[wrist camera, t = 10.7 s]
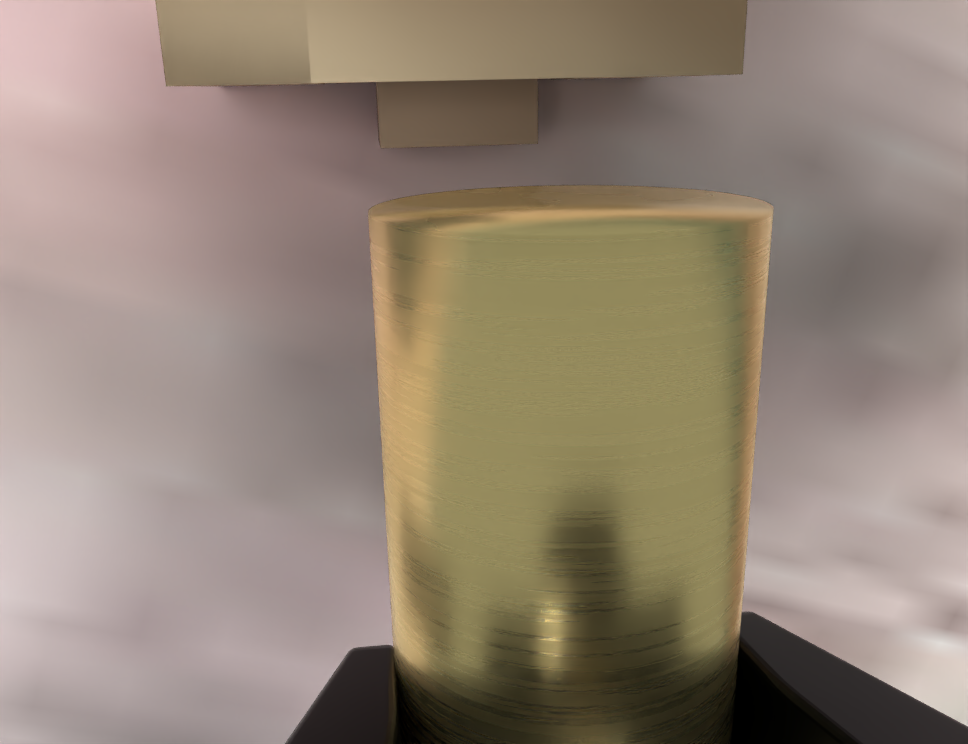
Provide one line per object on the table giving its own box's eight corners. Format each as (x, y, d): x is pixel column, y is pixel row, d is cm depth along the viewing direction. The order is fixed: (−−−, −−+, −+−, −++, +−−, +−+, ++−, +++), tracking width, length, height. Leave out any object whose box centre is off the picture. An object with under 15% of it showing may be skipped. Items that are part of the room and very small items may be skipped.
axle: (649, 914, 11) (753, 1197, 8) (410, 948, 11) (430, 1258, 8) (685, 181, 8) (859, 223, 5) (365, 191, 8) (373, 245, 5)
